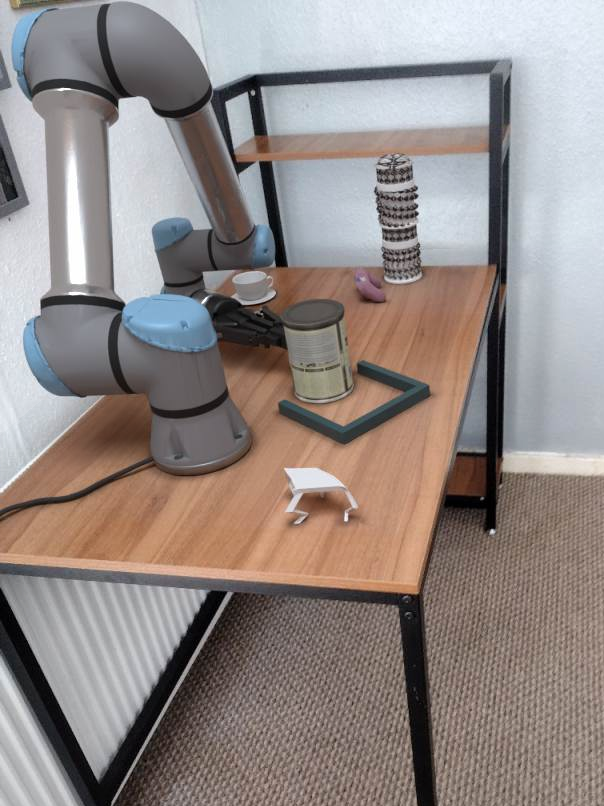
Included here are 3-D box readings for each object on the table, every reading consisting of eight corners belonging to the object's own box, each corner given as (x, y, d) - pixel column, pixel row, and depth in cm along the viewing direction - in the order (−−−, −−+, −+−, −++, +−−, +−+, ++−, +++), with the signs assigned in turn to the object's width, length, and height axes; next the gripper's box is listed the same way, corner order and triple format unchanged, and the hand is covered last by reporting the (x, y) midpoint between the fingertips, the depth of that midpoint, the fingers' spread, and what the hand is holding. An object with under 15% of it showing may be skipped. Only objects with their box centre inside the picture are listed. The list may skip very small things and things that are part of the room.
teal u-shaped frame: (279, 413, 129) (277, 402, 128) (364, 370, 139) (362, 359, 138) (344, 444, 119) (342, 433, 118) (430, 395, 129) (429, 384, 128)
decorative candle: (397, 287, 169) (387, 164, 155) (374, 277, 176) (362, 157, 161) (432, 276, 173) (425, 154, 158) (408, 266, 180) (399, 148, 165)
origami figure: (267, 525, 104) (260, 494, 102) (291, 489, 111) (286, 459, 108) (352, 535, 101) (347, 504, 98) (372, 497, 107) (368, 467, 104)
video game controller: (365, 295, 172) (347, 268, 168) (382, 283, 171) (365, 256, 167) (369, 312, 164) (351, 284, 160) (388, 300, 163) (369, 272, 159)
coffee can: (286, 385, 137) (272, 307, 129) (341, 370, 140) (331, 293, 131) (305, 410, 129) (291, 329, 121) (363, 393, 132) (353, 313, 123)
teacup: (236, 310, 168) (231, 289, 165) (226, 295, 175) (222, 275, 172) (281, 300, 170) (277, 278, 167) (269, 286, 178) (266, 265, 175)
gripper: (249, 321, 153) (328, 350, 139) (193, 345, 147) (270, 378, 132) (241, 283, 149) (322, 310, 134) (183, 306, 142) (262, 337, 128)
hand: (296, 344), depth 133 cm, fingers closed
